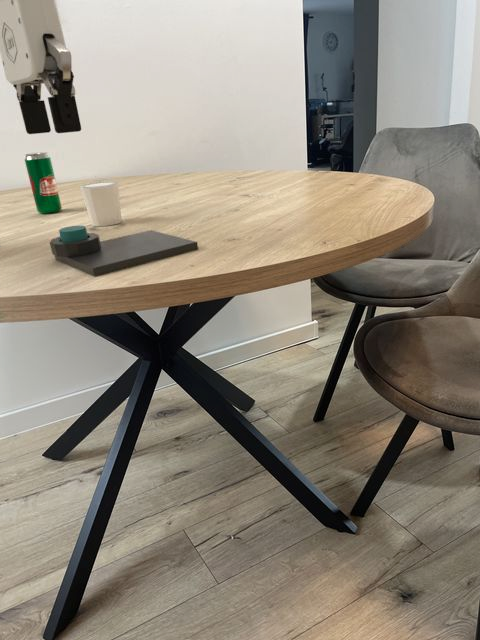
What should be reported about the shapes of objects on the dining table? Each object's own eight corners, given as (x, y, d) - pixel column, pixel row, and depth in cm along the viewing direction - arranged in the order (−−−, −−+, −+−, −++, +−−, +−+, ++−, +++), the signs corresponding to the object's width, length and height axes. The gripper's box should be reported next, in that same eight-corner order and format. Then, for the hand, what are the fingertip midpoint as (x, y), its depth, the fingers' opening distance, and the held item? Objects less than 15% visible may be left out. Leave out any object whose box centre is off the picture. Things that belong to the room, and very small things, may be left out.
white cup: (109, 217, 101) (102, 180, 97) (132, 220, 97) (126, 182, 94) (79, 225, 96) (71, 186, 93) (103, 228, 92) (95, 187, 89)
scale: (89, 278, 64) (83, 255, 63) (48, 260, 74) (43, 239, 72) (198, 249, 74) (195, 229, 73) (149, 236, 83) (146, 218, 82)
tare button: (67, 245, 70) (64, 232, 69) (57, 241, 72) (54, 229, 72) (92, 240, 72) (90, 227, 71) (81, 236, 74) (79, 224, 74)
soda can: (47, 215, 108) (32, 154, 103) (32, 213, 110) (18, 154, 105) (67, 210, 112) (54, 151, 106) (52, 209, 114) (39, 152, 109)
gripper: (-38, -13, 63) (2, 136, 71) (9, -49, 51) (51, 134, 59) (23, -9, 68) (55, 131, 75) (79, -41, 56) (110, 129, 63)
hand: (53, 132), depth 67 cm, fingers open, 9 cm apart
